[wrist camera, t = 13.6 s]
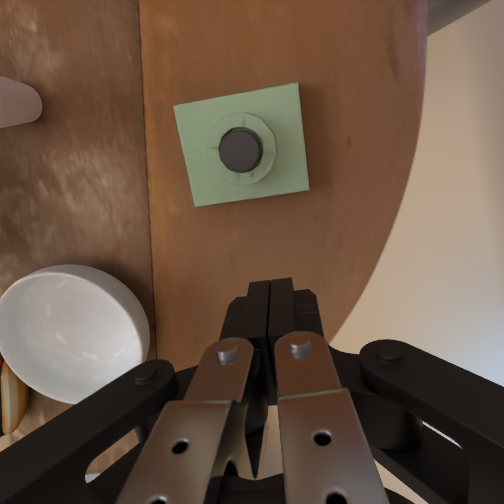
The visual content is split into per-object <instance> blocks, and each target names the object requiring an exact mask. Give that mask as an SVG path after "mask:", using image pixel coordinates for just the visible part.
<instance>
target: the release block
mask: <svg viewBox="0 0 504 504" xmlns="http://www.w3.org/2000/svg"><path fill="white" fill-rule="evenodd" d="M173 109H174V114H175V118H176V123H177V127H178V132H179V136H180V141H181V145H182V150H183V155H184V159H185V164H186V168H187V173H188V177H189V182H190V186H191V191H192V195H193V200H194V204H195V207H199V206H205V205H212V204H219V203H226V202H233V201H239V200H246V199H253V198H260V197H267V196H273V195H280V194H287V193H294V192H301V191H307V190H310V188H309V179H308V170H307V160H306V151H305V142H304V133H303V124H302V115H301V105H300V96H299V87H298V83H292V84H286V85H281V86H275V87H270V88H265V89H259V90H254V91H249V92H243V93H238V94H232V95H227V96H222V97H216V98H211V99H206V100H200V101H195V102H189V103H184V104H179V105H173ZM237 130H245V131H248V132H250V133H252V134H253V135H254V136H255V137H256V138H257V140H258V142H259V144H260V156H259V159H258V161H257V162H256V164H255V165H254V166H253V167H252V168H251V169H249V170H247V171H244V172H236V171H233V170H230V169H229V168H228V167H226V166H225V165H224V163H223V162H222V160H221V157H220V145H221V142H222V140H223V139H224V137H225V136H226V135H228V134H229V133H231V132H233V131H237Z"/></svg>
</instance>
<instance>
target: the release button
mask: <svg viewBox="0 0 504 504" xmlns="http://www.w3.org/2000/svg"><path fill="white" fill-rule="evenodd" d="M259 156H260V144H259V142H258V140H257V138H256V137H255V136H254V135H253V134H252V133H250V132H248V131H245V130H237V131H233V132H231V133H229V134H228V135H226V136H225V137H224V139H223V140H222V142H221V145H220V157H221V160H222V162H223V163H224V165H225V166H226V167H228V168H229V169H230V170H233V171H236V172H244V171H247V170H249V169H251V168H252V167H253V166H254V165H255V164H256V162H257V161H258V159H259Z"/></svg>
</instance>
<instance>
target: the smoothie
mask: <svg viewBox="0 0 504 504" xmlns="http://www.w3.org/2000/svg"><path fill="white" fill-rule="evenodd" d="M41 113H42V101H41V98H40V96H39V94H38V93H37V92H36V90H35V89H33V88H32V87H31V86H29V85H27V84H24V83H21V82H17V81H14V80H11V79H8V78H5V77H2V76H0V128H4V127H9V126H14V125H18V124H23V123H28V122H32V121H35V120H37V119H38V118H39V117H40V115H41Z"/></svg>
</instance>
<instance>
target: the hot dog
mask: <svg viewBox="0 0 504 504" xmlns="http://www.w3.org/2000/svg"><path fill="white" fill-rule="evenodd" d="M27 401H28V385H27V384H26V383H25V382H23V381H22V380H21V379H20V378H19V377H18V376H17V375H16V374H15V373H14V372H13V371H12V369H11V368H10V367H9V365H8V364H7V363H6V361H5V359H4V358H3V356H2V354H1V352H0V437H2V436H3V435H7V434H11V433H12V432H14V431H15V430H16V428H17V427H18V426H19V424H20V423H21V421H22V420H23V417H24V415H25V412H26V407H27Z"/></svg>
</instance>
